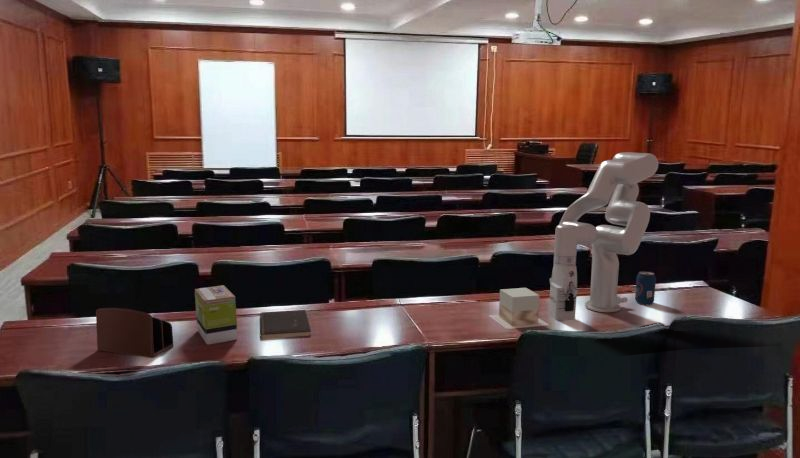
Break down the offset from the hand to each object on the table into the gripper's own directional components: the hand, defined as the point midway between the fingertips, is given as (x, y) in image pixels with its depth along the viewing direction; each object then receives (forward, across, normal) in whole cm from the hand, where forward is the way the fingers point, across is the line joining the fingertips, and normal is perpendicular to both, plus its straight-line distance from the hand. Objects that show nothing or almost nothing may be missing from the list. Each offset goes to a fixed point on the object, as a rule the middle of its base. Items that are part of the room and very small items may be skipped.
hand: (561, 307), depth 219 cm
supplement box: (+5, 0, 0) cm, 5 cm away
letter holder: (+6, +7, +141) cm, 142 cm away
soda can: (+4, +10, -42) cm, 44 cm away
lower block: (+4, 0, +17) cm, 17 cm away
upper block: (-1, 0, +17) cm, 17 cm away
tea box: (+6, +13, +118) cm, 119 cm away
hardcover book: (+6, +17, +96) cm, 97 cm away
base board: (+5, 0, +17) cm, 17 cm away
